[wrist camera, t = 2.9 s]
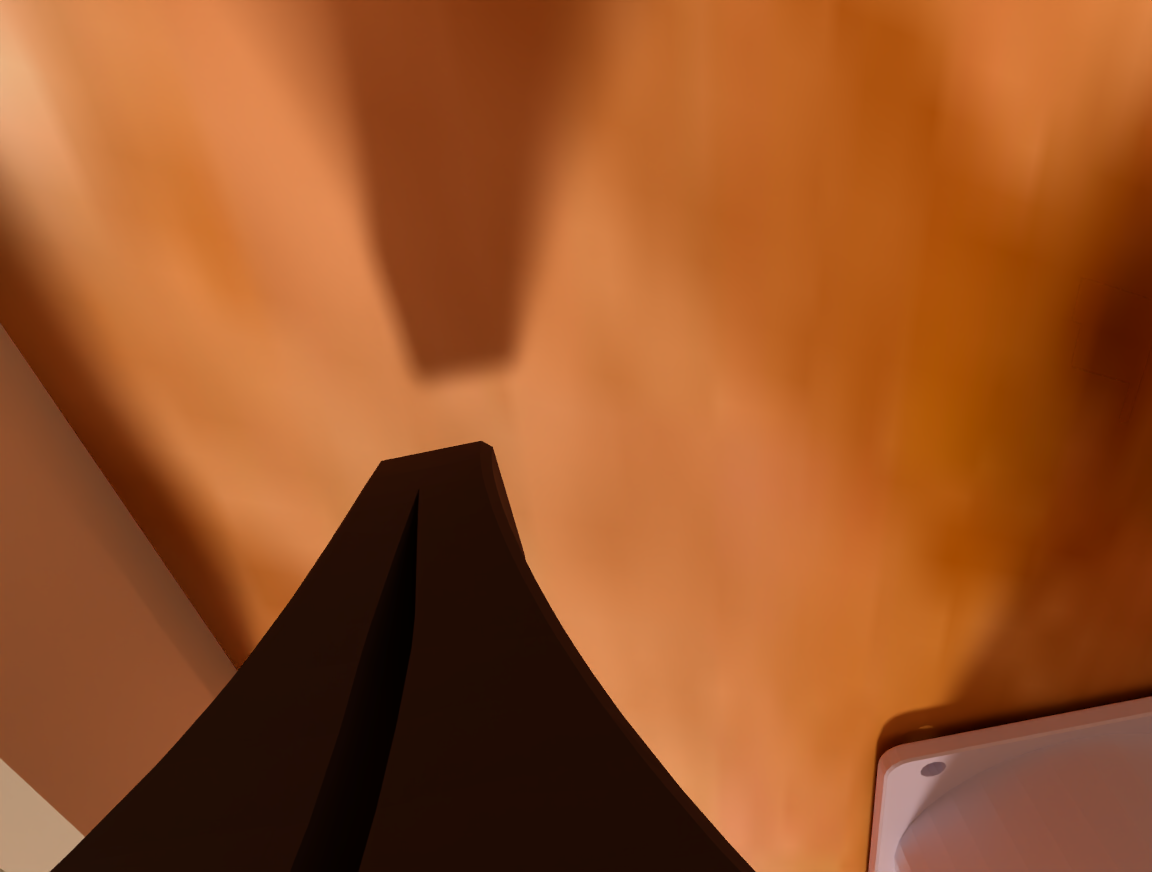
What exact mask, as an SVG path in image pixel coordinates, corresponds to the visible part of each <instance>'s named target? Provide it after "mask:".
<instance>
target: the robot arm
mask: <svg viewBox="0 0 1152 872" xmlns="http://www.w3.org/2000/svg"><path fill="white" fill-rule="evenodd" d="M50 872H755V871H754V870H753V869H752V867H751V866H750V865H749V864H748V863H747V862H746V861H745V860H744V859H743V858H742V857H741V856H740V855H739V853H738V852H737V851H736V850H735V849H734V848H733V847H732V846H731V845H730V844H729V843H728V842H727V840H726V839H725V838H724V837H723V836H722V835H721V834H720V832H719V831H718V830H717V829H716V828H715V827H714V826H713V824H712V823H711V822H710V821H709V820H708V819H707V818H706V816H705V815H704V814H703V813H702V812H701V811H700V810H699V808H698V807H697V806H696V805H695V804H694V803H693V802H692V800H691V799H690V798H689V797H688V796H687V795H686V794H685V792H684V791H683V790H682V789H681V788H680V786H679V785H678V784H677V783H676V781H675V780H674V779H673V778H672V776H671V775H670V774H669V773H668V771H667V770H666V769H665V768H664V766H663V765H662V764H661V763H660V761H659V760H658V759H657V758H656V756H655V755H654V754H653V753H652V751H651V750H650V749H649V748H648V746H647V745H646V744H645V743H644V741H643V740H642V739H641V738H640V736H639V735H638V734H637V733H636V731H635V730H634V729H633V728H632V726H631V725H630V724H629V723H628V721H627V720H626V719H625V718H624V716H623V715H622V714H621V712H620V711H619V709H618V708H617V707H616V705H615V704H614V702H613V701H612V700H611V698H610V697H609V695H608V694H607V693H606V691H605V690H604V688H603V687H602V686H601V684H600V683H599V681H598V680H597V679H596V677H595V676H594V674H593V673H592V672H591V670H590V669H589V667H588V666H587V664H586V663H585V661H584V660H583V658H582V656H581V655H580V653H579V652H578V650H577V649H576V647H575V646H574V644H573V643H572V641H571V640H570V638H569V637H568V635H567V633H566V632H565V630H564V629H563V627H562V625H561V624H560V622H559V620H558V619H557V617H556V615H555V614H554V612H553V610H552V608H551V607H550V605H549V603H548V601H547V600H546V598H545V596H544V594H543V592H542V591H541V589H540V587H539V585H538V583H537V582H536V580H535V578H534V576H533V574H532V572H531V570H530V568H529V566H528V564H527V562H526V560H525V555H524V551H523V548H522V544H521V541H520V538H519V534H518V531H517V527H516V524H515V521H514V517H513V514H512V511H511V507H510V504H509V500H508V497H507V494H506V490H505V487H504V484H503V480H502V477H501V473H500V470H499V467H498V463H497V460H496V457H495V453H494V450H493V447H492V446H490V445H488V444H486V443H484V442H483V441H478V442H473V443H468V444H463V445H458V446H453V447H448V448H443V449H438V450H433V451H429V452H424V453H419V454H414V455H409V456H404V457H399V458H394V459H389V460H384V461H381V463H380V464H379V466H378V467H377V468H376V470H375V471H374V473H373V474H372V476H371V477H370V479H369V480H368V482H367V484H366V485H365V487H364V488H363V490H362V491H361V493H360V495H359V496H358V498H357V499H356V501H355V502H354V504H353V506H352V507H351V509H350V510H349V512H348V514H347V515H346V517H345V518H344V520H343V522H342V523H341V525H340V526H339V528H338V529H337V531H336V533H335V534H334V536H333V537H332V539H331V540H330V542H329V544H328V545H327V547H326V548H325V550H324V551H323V553H322V554H321V556H320V557H319V559H318V560H317V562H316V563H315V565H314V566H313V568H312V569H311V570H310V572H309V573H308V575H307V576H306V578H305V579H304V581H303V582H302V584H301V585H300V587H299V588H298V590H297V591H296V593H295V594H294V596H293V597H292V599H291V600H290V601H289V603H288V604H287V606H286V607H285V608H284V610H283V611H282V612H281V614H280V615H279V617H278V618H277V619H276V621H275V622H274V623H273V625H272V626H271V627H270V629H269V630H268V631H267V633H266V634H265V635H264V637H263V638H262V640H261V641H260V642H259V644H258V645H257V646H256V648H255V649H254V650H253V652H252V653H251V654H250V656H249V657H248V658H247V660H246V661H245V662H244V664H243V665H242V666H241V667H240V669H239V670H238V671H237V672H236V674H235V675H234V676H233V677H232V679H231V680H230V681H229V682H228V683H227V685H226V686H225V687H224V688H223V689H222V691H221V692H220V693H219V694H218V695H217V697H216V698H215V699H214V700H213V701H212V703H211V704H210V705H209V706H208V707H207V708H206V710H205V711H204V712H203V713H202V714H201V715H200V716H199V718H198V719H197V720H196V721H195V722H194V723H193V724H192V725H191V727H190V728H189V729H188V730H187V731H186V732H185V733H184V735H183V736H182V737H181V738H180V739H179V740H178V741H177V743H176V744H175V745H174V746H173V747H172V748H171V749H170V750H169V751H168V753H167V754H166V755H165V756H164V757H163V758H162V759H161V760H160V761H159V762H158V763H157V764H156V766H155V767H154V768H153V769H152V770H151V771H150V772H149V773H148V774H147V775H146V776H145V777H144V778H143V779H142V780H141V781H140V782H139V783H138V784H137V785H136V786H135V787H134V788H133V789H132V790H131V791H130V792H129V793H128V794H127V795H126V796H125V797H124V798H123V799H122V800H121V801H120V802H119V803H118V804H117V805H116V806H115V807H114V808H113V809H112V810H111V811H110V812H109V813H108V814H107V815H106V816H105V817H104V818H103V819H102V820H101V821H100V822H99V823H98V824H97V825H96V826H95V827H94V828H93V829H92V830H91V831H90V833H89V834H88V835H87V836H86V837H85V838H84V839H83V840H82V841H81V842H80V843H79V844H78V845H77V846H76V847H75V848H74V849H73V850H72V851H71V852H70V853H69V854H68V855H67V856H66V857H65V858H63V859H62V860H61V861H60V862H59V863H58V864H57V865H56V866H55V867H54V868H53V869H52V870H51V871H50ZM868 872H1152V696H1150V697H1145V698H1139V699H1134V700H1129V701H1124V702H1119V703H1113V704H1108V705H1103V706H1098V707H1093V708H1087V709H1082V710H1077V711H1072V712H1067V713H1062V714H1056V715H1051V716H1046V717H1041V718H1036V719H1030V720H1025V721H1020V722H1015V723H1010V724H1004V725H999V726H994V727H989V728H984V729H979V730H973V731H968V732H963V733H958V734H953V735H947V736H942V737H937V738H932V739H927V740H921V741H916V742H911V743H906V744H901V745H898V746H895V747H893V748H891V749H889V750H887V751H886V752H885V753H884V754H883V755H882V756H881V758H880V760H879V763H878V772H877V783H876V793H875V804H874V815H873V826H872V837H871V848H870V859H869V870H868Z"/></svg>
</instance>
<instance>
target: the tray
mask: <svg viewBox="0 0 1152 872" xmlns="http://www.w3.org/2000/svg"><path fill="white" fill-rule="evenodd" d="M236 672H237V670H236V668H235V667H234V665H233V664H232V662H231V661H230V659H229V658H228V656H227V655H226V654H225V652H224V651H223V649H222V648H221V646H220V645H219V643H218V642H217V640H216V639H215V637H214V636H213V634H212V633H211V631H210V630H209V629H208V627H207V626H206V624H205V623H204V621H203V620H202V618H201V617H200V615H199V614H198V612H197V611H196V609H195V608H194V607H193V605H192V604H191V602H190V601H189V599H188V598H187V596H186V595H185V593H184V592H183V590H182V589H181V587H180V586H179V584H178V583H177V582H176V580H175V579H174V577H173V576H172V574H171V573H170V571H169V570H168V568H167V567H166V565H165V564H164V562H163V561H162V560H161V558H160V557H159V555H158V554H157V552H156V551H155V549H154V548H153V546H152V545H151V543H150V542H149V540H148V539H147V537H146V536H145V535H144V533H143V532H142V530H141V529H140V527H139V526H138V524H137V523H136V521H135V520H134V518H133V517H132V515H131V514H130V513H129V511H128V510H127V508H126V507H125V505H124V504H123V502H122V501H121V499H120V498H119V496H118V495H117V493H116V492H115V490H114V489H113V488H112V486H111V485H110V483H109V482H108V480H107V479H106V477H105V476H104V474H103V473H102V471H101V470H100V468H99V467H98V466H97V464H96V463H95V461H94V460H93V458H92V457H91V455H90V454H89V452H88V451H87V449H86V448H85V446H84V445H83V443H82V442H81V441H80V439H79V438H78V436H77V435H76V433H75V432H74V430H73V429H72V427H71V426H70V424H69V423H68V421H67V420H66V419H65V417H64V416H63V414H62V413H61V411H60V410H59V408H58V407H57V405H56V404H55V402H54V401H53V399H52V398H51V396H50V395H49V394H48V392H47V391H46V389H45V388H44V386H43V385H42V383H41V382H40V380H39V379H38V377H37V376H36V374H35V373H34V372H33V370H32V369H31V367H30V366H29V364H28V363H27V361H26V360H25V358H24V357H23V355H22V354H21V352H20V351H19V349H18V348H17V347H16V345H15V344H14V342H13V341H12V339H11V338H10V336H9V335H8V333H7V332H6V330H5V329H4V327H3V326H2V325H1V323H0V872H50V871H51V870H52V869H53V868H54V867H55V866H56V865H57V864H58V863H59V862H60V861H61V860H62V859H63V858H65V857H66V856H67V855H68V854H69V853H70V852H71V851H72V850H73V849H74V848H75V847H76V846H77V845H78V844H79V843H80V842H81V841H82V840H83V839H84V838H85V837H86V836H87V835H88V834H89V833H90V831H91V830H92V829H93V828H94V827H95V826H96V825H97V824H98V823H99V822H100V821H101V820H102V819H103V818H104V817H105V816H106V815H107V814H108V813H109V812H110V811H111V810H112V809H113V808H114V807H115V806H116V805H117V804H118V803H119V802H120V801H121V800H122V799H123V798H124V797H125V796H126V795H127V794H128V793H129V792H130V791H131V790H132V789H133V788H134V787H135V786H136V785H137V784H138V783H139V782H140V781H141V780H142V779H143V778H144V777H145V776H146V775H147V774H148V773H149V772H150V771H151V770H152V769H153V768H154V767H155V766H156V764H157V763H158V762H159V761H160V760H161V759H162V758H163V757H164V756H165V755H166V754H167V753H168V751H169V750H170V749H171V748H172V747H173V746H174V745H175V744H176V743H177V741H178V740H179V739H180V738H181V737H182V736H183V735H184V733H185V732H186V731H187V730H188V729H189V728H190V727H191V725H192V724H193V723H194V722H195V721H196V720H197V719H198V718H199V716H200V715H201V714H202V713H203V712H204V711H205V710H206V708H207V707H208V706H209V705H210V704H211V703H212V701H213V700H214V699H215V698H216V697H217V695H218V694H219V693H220V692H221V691H222V689H223V688H224V687H225V686H226V685H227V683H228V682H229V681H230V680H231V679H232V677H233V676H234V675H235V674H236Z"/></svg>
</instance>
